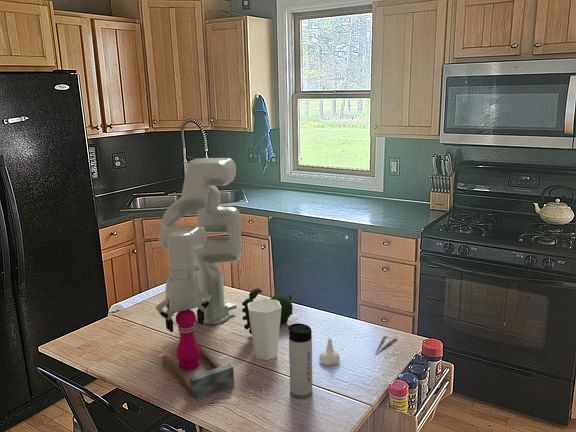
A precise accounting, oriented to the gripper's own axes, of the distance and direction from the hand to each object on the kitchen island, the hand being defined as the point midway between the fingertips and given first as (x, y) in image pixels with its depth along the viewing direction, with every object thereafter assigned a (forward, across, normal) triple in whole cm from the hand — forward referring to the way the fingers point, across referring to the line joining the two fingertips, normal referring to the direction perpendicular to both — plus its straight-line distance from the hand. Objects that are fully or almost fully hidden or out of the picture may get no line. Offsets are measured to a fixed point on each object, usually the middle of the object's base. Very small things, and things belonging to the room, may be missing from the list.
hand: (185, 326), depth 155 cm
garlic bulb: (+14, -38, +22) cm, 46 cm away
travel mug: (+14, -21, +31) cm, 40 cm away
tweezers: (+14, -57, +25) cm, 64 cm away
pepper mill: (+14, -1, -1) cm, 14 cm away
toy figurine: (+13, -34, -8) cm, 38 cm away
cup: (+13, -24, +7) cm, 28 cm away
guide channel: (+13, 0, +5) cm, 14 cm away
